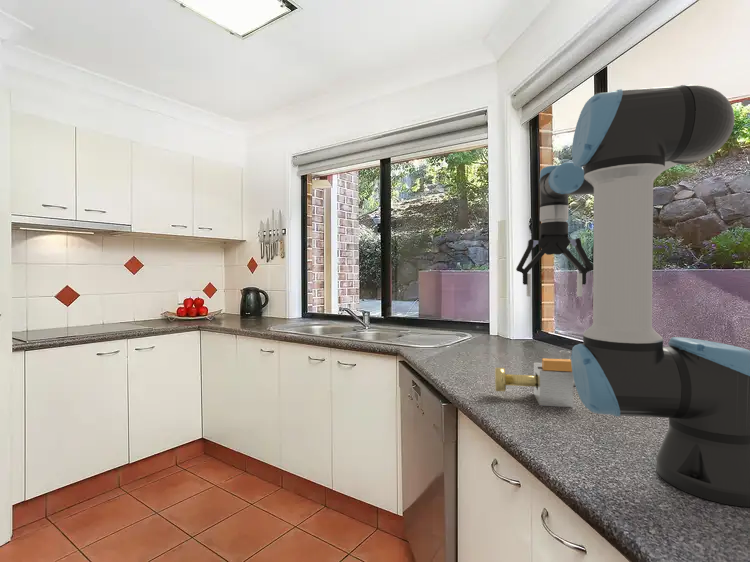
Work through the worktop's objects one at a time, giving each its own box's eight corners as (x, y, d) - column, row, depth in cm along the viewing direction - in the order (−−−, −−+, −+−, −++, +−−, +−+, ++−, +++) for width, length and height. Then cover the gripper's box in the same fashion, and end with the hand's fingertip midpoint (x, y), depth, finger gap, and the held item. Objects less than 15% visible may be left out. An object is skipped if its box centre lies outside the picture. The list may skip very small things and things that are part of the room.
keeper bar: (585, 371, 104) (586, 358, 104) (543, 370, 106) (543, 356, 106) (582, 369, 107) (582, 355, 107) (541, 367, 109) (542, 354, 109)
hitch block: (573, 407, 105) (573, 371, 105) (539, 405, 107) (539, 369, 106) (564, 395, 115) (564, 362, 114) (533, 393, 116) (533, 361, 116)
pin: (560, 397, 107) (560, 373, 107) (496, 394, 111) (496, 370, 110) (555, 390, 113) (555, 367, 113) (494, 387, 117) (494, 365, 117)
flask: (580, 387, 122) (581, 354, 122) (555, 386, 124) (555, 353, 124) (574, 381, 129) (574, 349, 129) (549, 380, 131) (549, 348, 131)
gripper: (598, 221, 118) (597, 295, 119) (507, 224, 124) (507, 295, 124) (606, 218, 111) (605, 297, 111) (509, 222, 116) (509, 296, 117)
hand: (553, 296), depth 118 cm, fingers open, 13 cm apart
